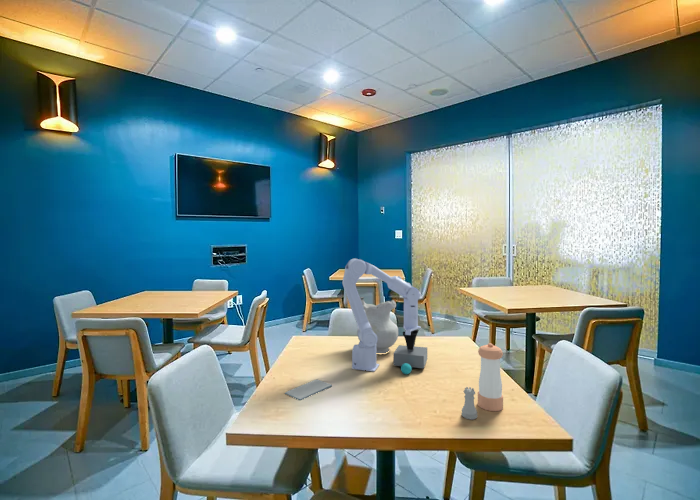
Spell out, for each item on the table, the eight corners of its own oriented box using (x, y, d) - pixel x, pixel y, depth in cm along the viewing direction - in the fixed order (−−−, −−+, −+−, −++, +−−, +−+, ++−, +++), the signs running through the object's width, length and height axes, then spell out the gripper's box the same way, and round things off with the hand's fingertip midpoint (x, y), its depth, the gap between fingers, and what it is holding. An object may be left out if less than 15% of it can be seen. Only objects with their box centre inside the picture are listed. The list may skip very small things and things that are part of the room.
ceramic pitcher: (347, 356, 159) (345, 302, 156) (358, 341, 177) (357, 293, 175) (394, 361, 152) (394, 305, 150) (401, 345, 171) (401, 295, 168)
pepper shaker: (491, 413, 103) (491, 348, 102) (472, 403, 109) (472, 342, 109) (508, 408, 106) (508, 344, 106) (488, 398, 113) (489, 339, 112)
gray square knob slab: (393, 365, 141) (393, 344, 140) (399, 356, 152) (399, 337, 152) (423, 368, 137) (423, 347, 136) (427, 358, 148) (427, 339, 148)
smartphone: (283, 392, 117) (316, 378, 128) (283, 395, 117) (316, 381, 128) (299, 399, 112) (332, 384, 123) (299, 402, 112) (332, 387, 123)
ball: (400, 375, 133) (400, 364, 133) (402, 371, 137) (402, 361, 137) (410, 376, 132) (410, 365, 132) (412, 372, 135) (412, 362, 135)
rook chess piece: (458, 413, 103) (458, 385, 103) (473, 412, 104) (473, 385, 103) (465, 420, 99) (465, 392, 99) (480, 419, 99) (480, 391, 99)
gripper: (418, 319, 136) (418, 354, 136) (422, 312, 149) (422, 344, 150) (400, 318, 138) (400, 352, 138) (406, 311, 152) (406, 342, 152)
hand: (410, 348), depth 144 cm, fingers closed on gray square knob slab, 2 cm apart
